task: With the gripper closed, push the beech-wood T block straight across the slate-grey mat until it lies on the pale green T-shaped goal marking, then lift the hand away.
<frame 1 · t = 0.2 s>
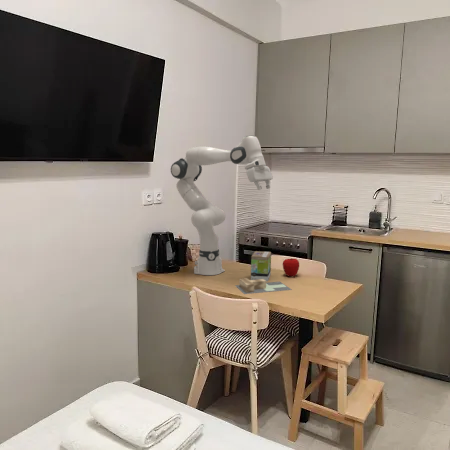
hand: (264, 188, 226), 52 cm above the counter, tool tilted 20°, fingers open, 8 cm apart
mat: (262, 288, 221), on the counter
tee: (246, 288, 218), point 1 cm above the counter, touching mat
tea box: (260, 279, 240), on the counter
apple: (290, 276, 246), on the counter
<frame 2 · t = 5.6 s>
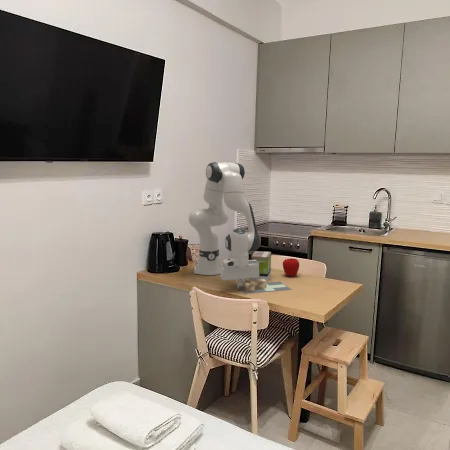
hand: (239, 287, 217), 2 cm above the counter, tool pointing down, fingers closed
tee: (247, 288, 218), point 1 cm above the counter, touching gripper, mat
everything else where it was.
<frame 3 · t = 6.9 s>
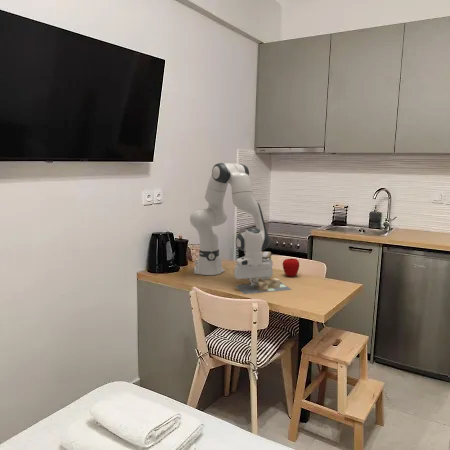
hand: (253, 285, 219), 2 cm above the counter, tool pointing down, fingers closed
tee: (260, 287, 220), point 1 cm above the counter, touching gripper
everything else where it was.
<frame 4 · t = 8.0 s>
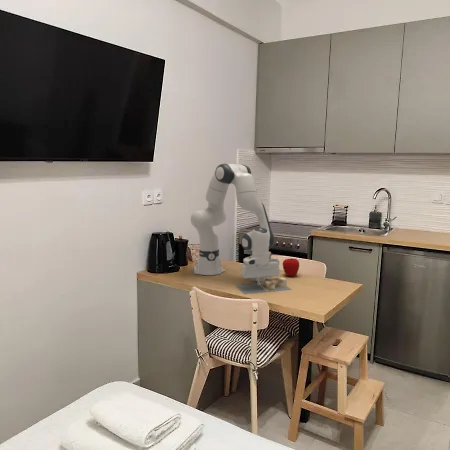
hand: (260, 285, 220), 2 cm above the counter, tool pointing down, fingers closed
tee: (267, 287, 221), point 1 cm above the counter, touching gripper, mat
everything else where it was.
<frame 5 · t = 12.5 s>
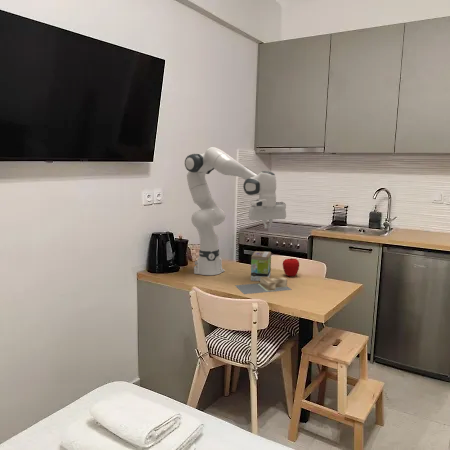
hand: (267, 228, 224), 31 cm above the counter, tool pointing down, fingers closed
tee: (267, 287, 221), point 1 cm above the counter, touching mat
everything else where it was.
at the end: tee 0.4 cm from the target spot, point 0.8 cm above the counter; tee tilted 0° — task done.
